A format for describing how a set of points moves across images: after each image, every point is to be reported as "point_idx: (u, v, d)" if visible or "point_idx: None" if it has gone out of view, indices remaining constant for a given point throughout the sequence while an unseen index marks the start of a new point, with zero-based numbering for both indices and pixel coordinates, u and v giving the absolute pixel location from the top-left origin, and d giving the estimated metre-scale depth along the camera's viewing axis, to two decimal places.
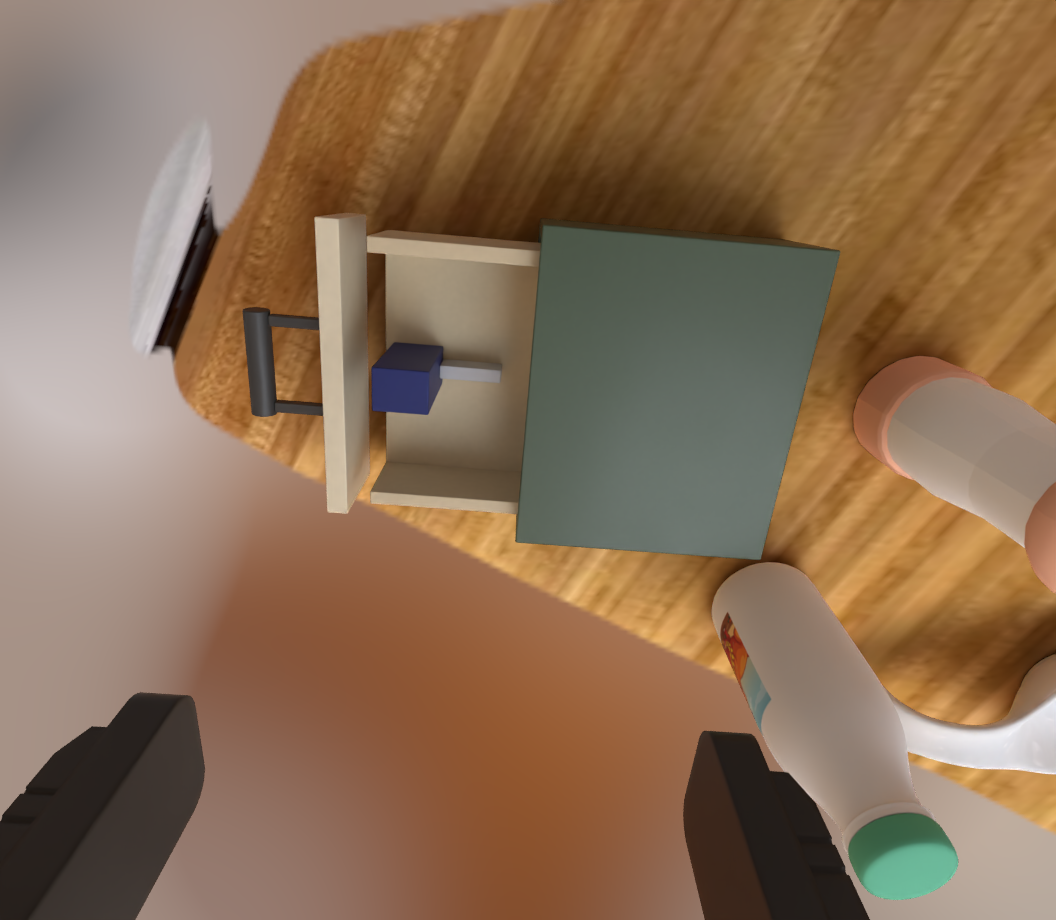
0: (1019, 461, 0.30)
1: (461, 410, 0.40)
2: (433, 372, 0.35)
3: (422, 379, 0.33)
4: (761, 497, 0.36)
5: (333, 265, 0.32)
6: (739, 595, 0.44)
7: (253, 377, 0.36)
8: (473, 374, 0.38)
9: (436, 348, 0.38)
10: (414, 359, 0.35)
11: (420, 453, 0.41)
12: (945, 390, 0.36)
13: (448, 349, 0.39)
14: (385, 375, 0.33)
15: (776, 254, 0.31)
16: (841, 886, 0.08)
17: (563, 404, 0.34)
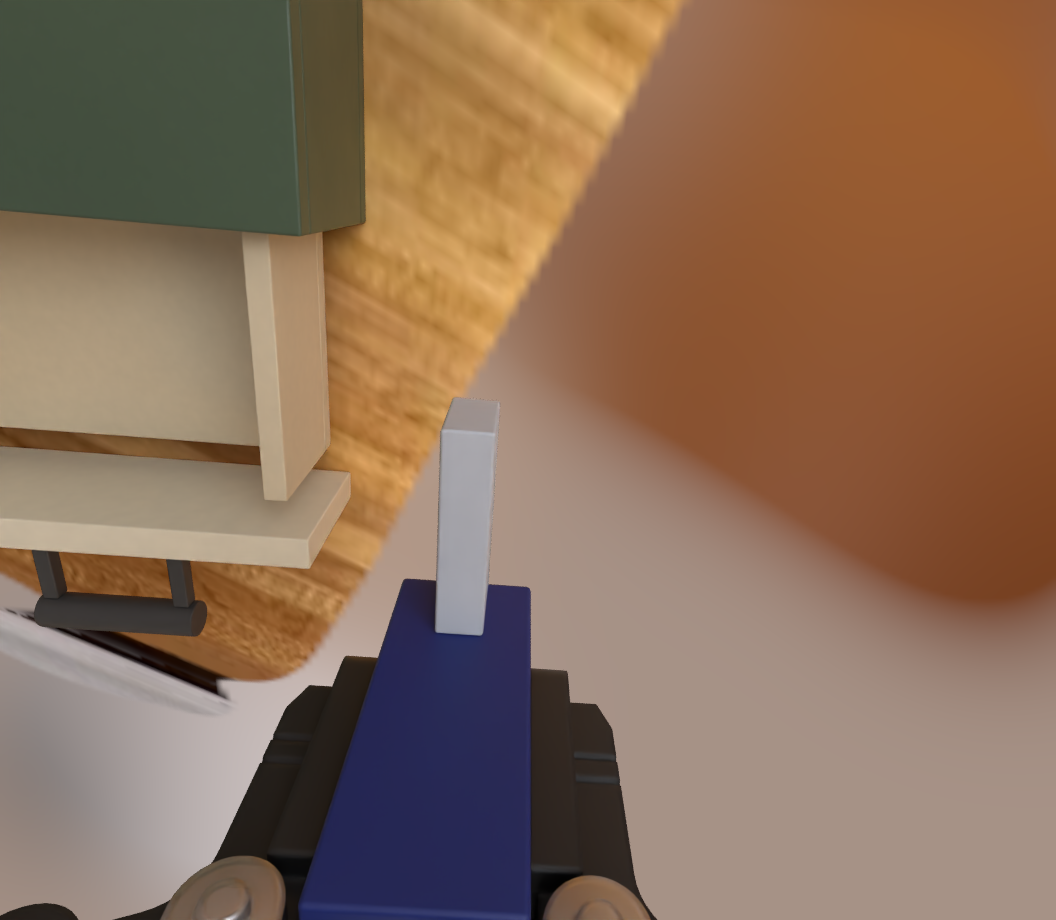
0: None
1: (193, 324, 0.24)
2: (376, 775, 0.08)
3: None
4: None
5: None
6: None
7: (132, 629, 0.25)
8: (462, 529, 0.10)
9: None
10: None
11: None
12: None
13: (93, 341, 0.24)
14: None
15: None
16: (611, 794, 0.09)
17: None
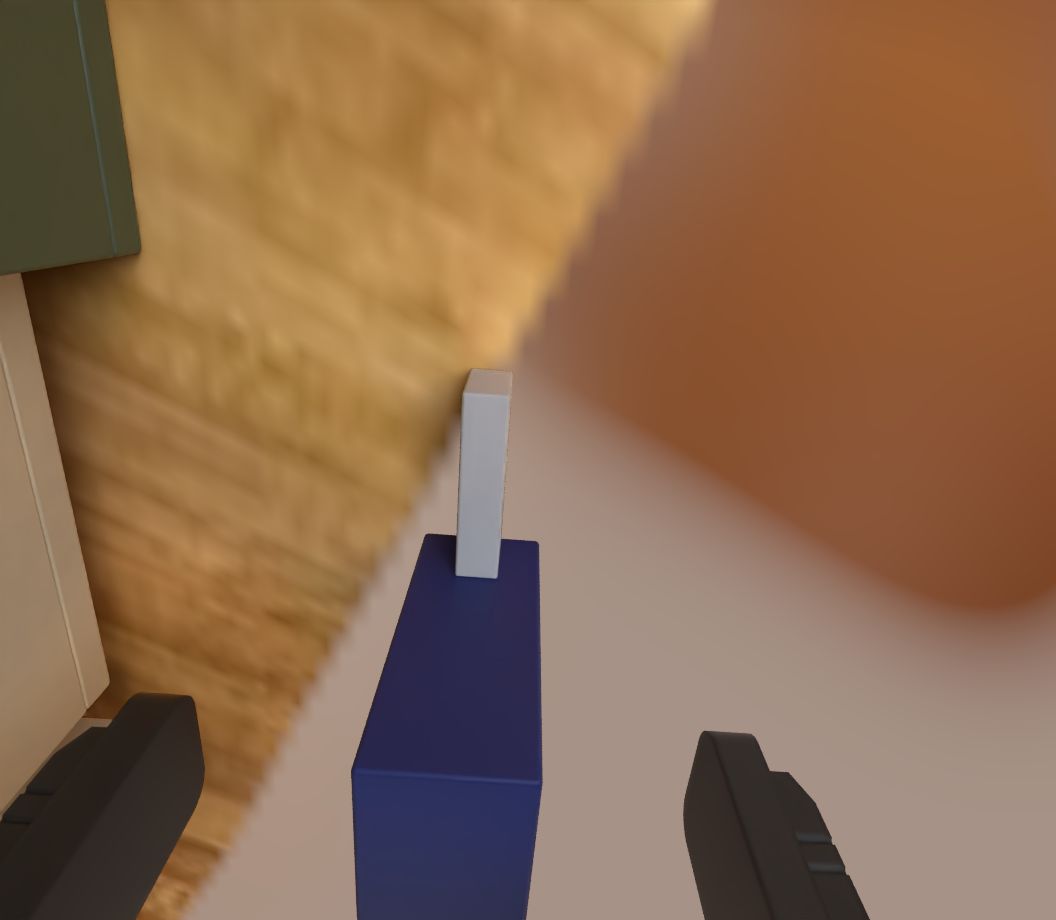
0: None
1: None
2: (410, 681, 0.09)
3: (385, 793, 0.08)
4: None
5: None
6: None
7: None
8: (480, 482, 0.11)
9: None
10: None
11: None
12: None
13: None
14: (383, 892, 0.09)
15: None
16: (841, 886, 0.08)
17: None
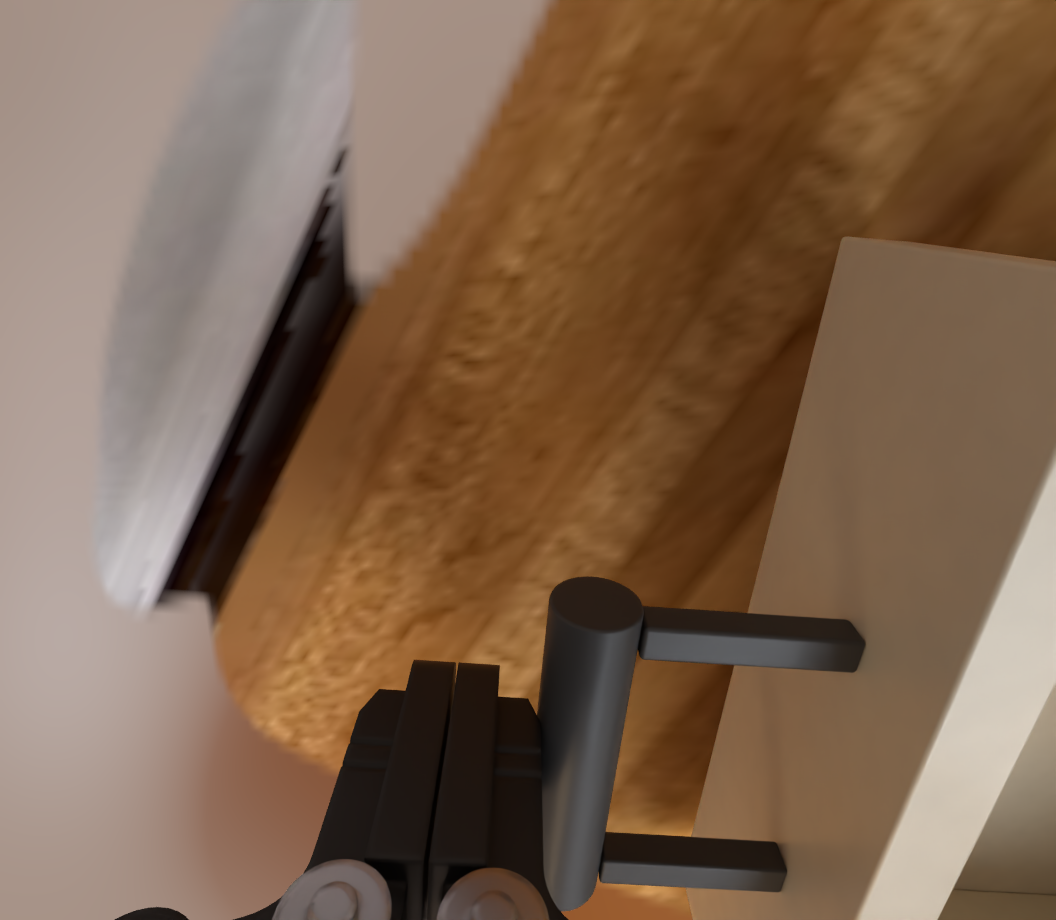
0: None
1: (1049, 776, 0.15)
2: None
3: None
4: None
5: None
6: None
7: (560, 815, 0.10)
8: None
9: None
10: None
11: None
12: None
13: None
14: None
15: None
16: (531, 788, 0.09)
17: None
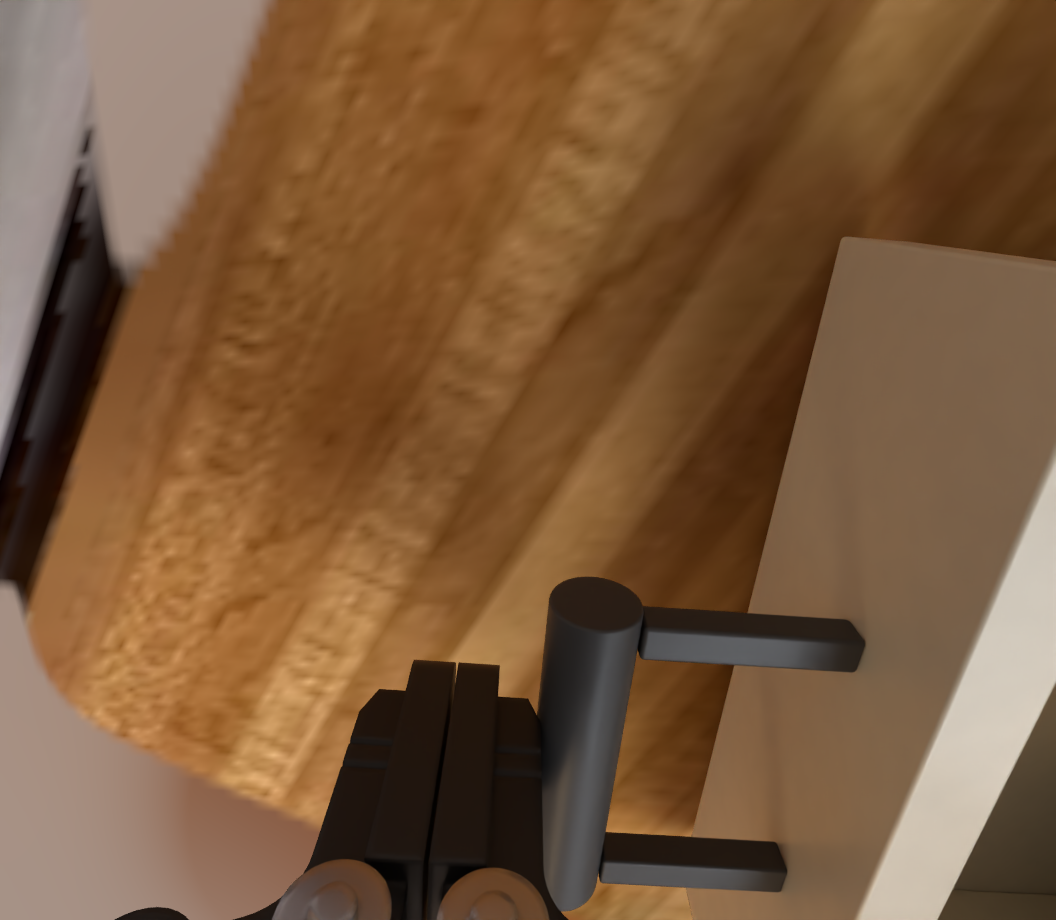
0: None
1: (1050, 776, 0.14)
2: None
3: None
4: None
5: None
6: None
7: (560, 815, 0.10)
8: None
9: None
10: None
11: None
12: None
13: None
14: None
15: None
16: (530, 788, 0.09)
17: None
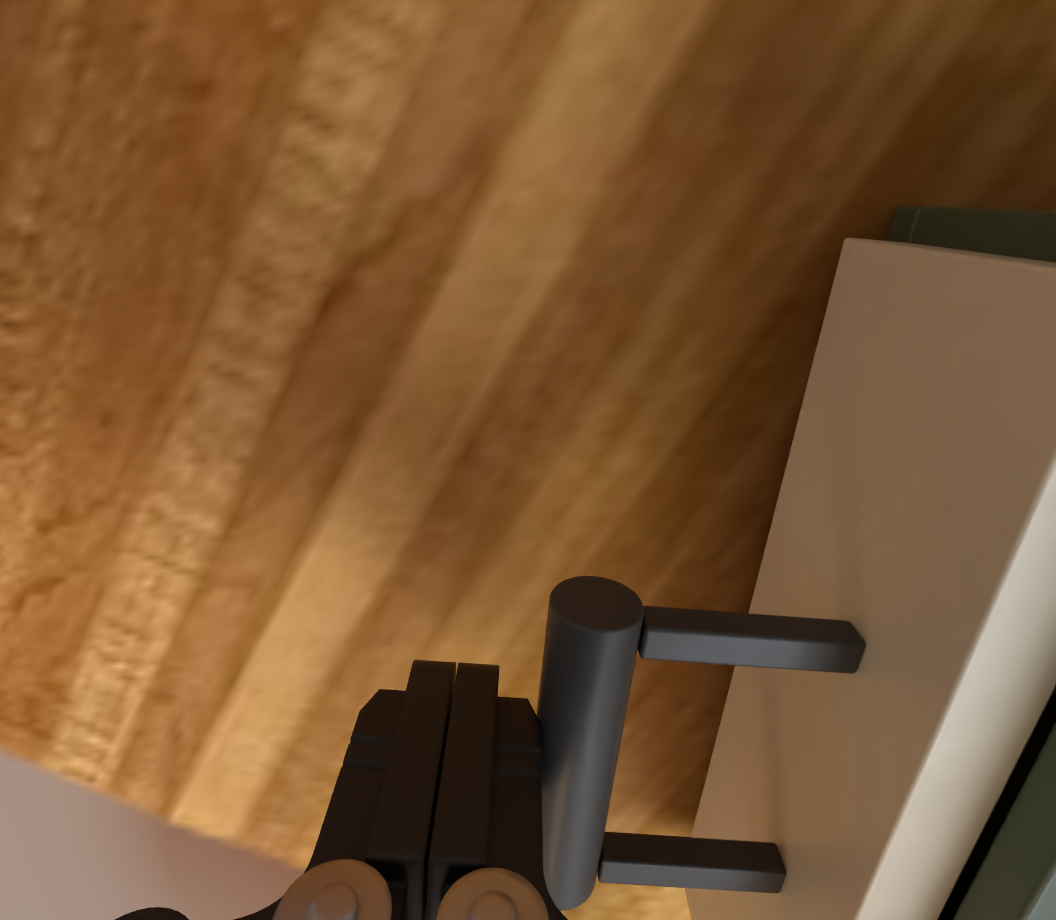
0: None
1: None
2: None
3: None
4: None
5: None
6: None
7: (559, 813, 0.10)
8: None
9: None
10: None
11: None
12: None
13: None
14: None
15: None
16: (530, 788, 0.09)
17: None
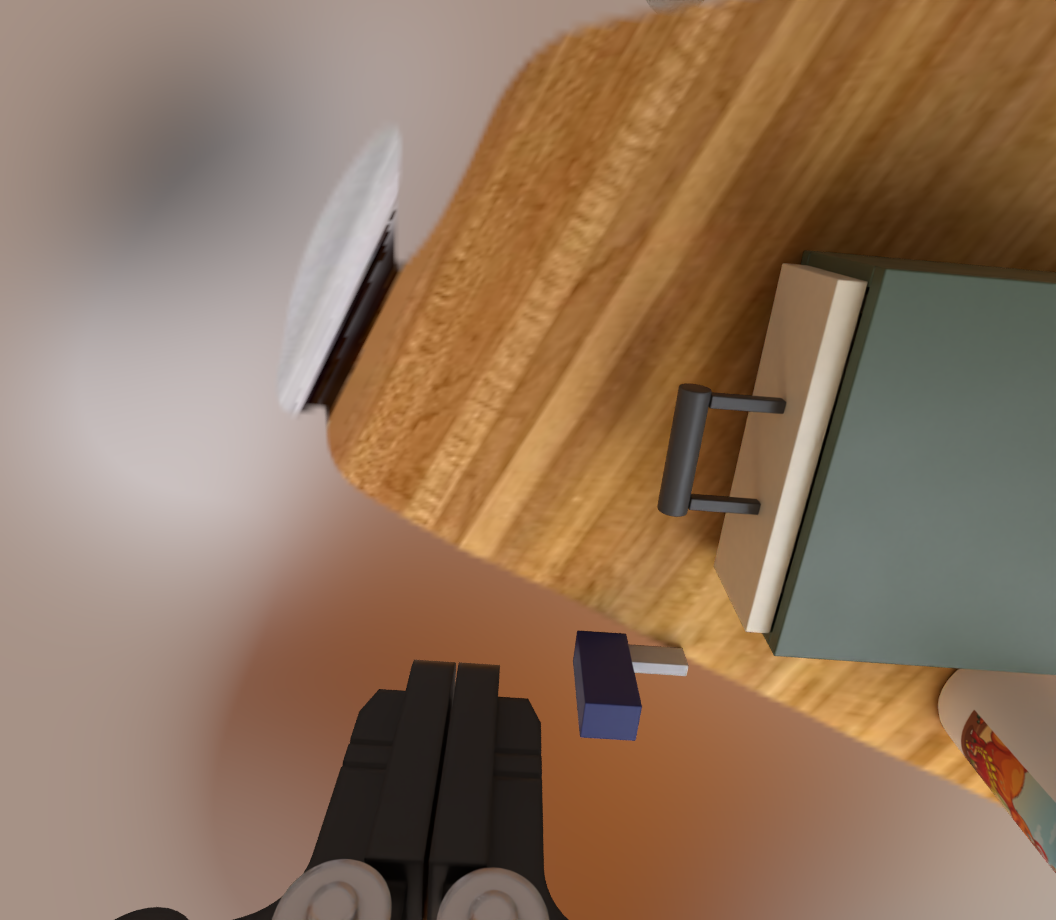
0: None
1: None
2: None
3: (634, 712, 0.33)
4: None
5: (844, 339, 0.25)
6: (989, 690, 0.37)
7: (678, 470, 0.29)
8: (660, 669, 0.38)
9: (622, 641, 0.38)
10: (615, 675, 0.35)
11: None
12: None
13: None
14: (598, 710, 0.33)
15: None
16: (531, 788, 0.09)
17: (867, 493, 0.27)
